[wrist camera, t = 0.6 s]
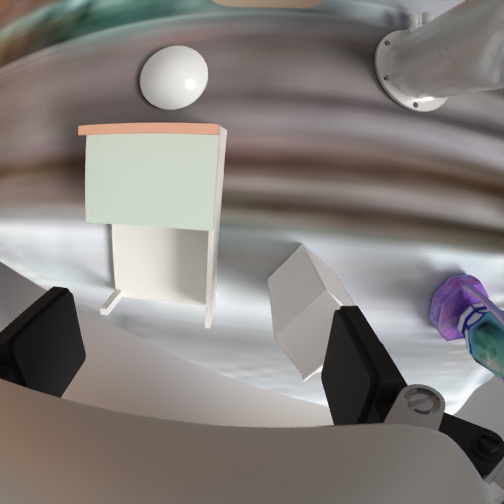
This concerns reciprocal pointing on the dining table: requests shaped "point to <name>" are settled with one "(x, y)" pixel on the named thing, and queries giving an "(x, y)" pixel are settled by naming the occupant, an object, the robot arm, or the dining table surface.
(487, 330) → the lantern
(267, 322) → the dining table surface
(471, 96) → the dining table surface
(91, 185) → the cover
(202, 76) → the white flat disc
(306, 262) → the milk carton
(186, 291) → the frame with rectangular opening
